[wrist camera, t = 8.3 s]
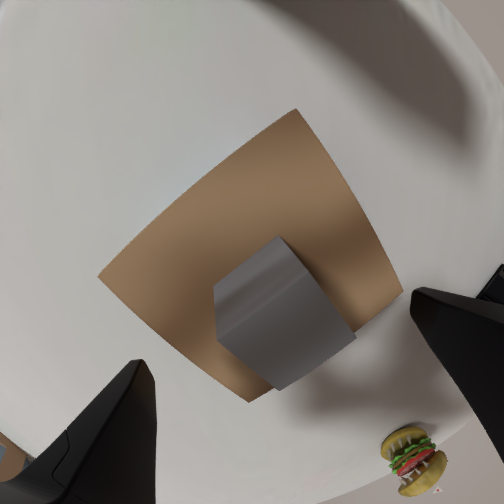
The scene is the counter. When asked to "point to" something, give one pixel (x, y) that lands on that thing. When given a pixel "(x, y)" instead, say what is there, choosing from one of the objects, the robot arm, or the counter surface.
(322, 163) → the lid
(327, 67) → the counter surface
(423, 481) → the hamburger
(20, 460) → the blue squat cylinder
